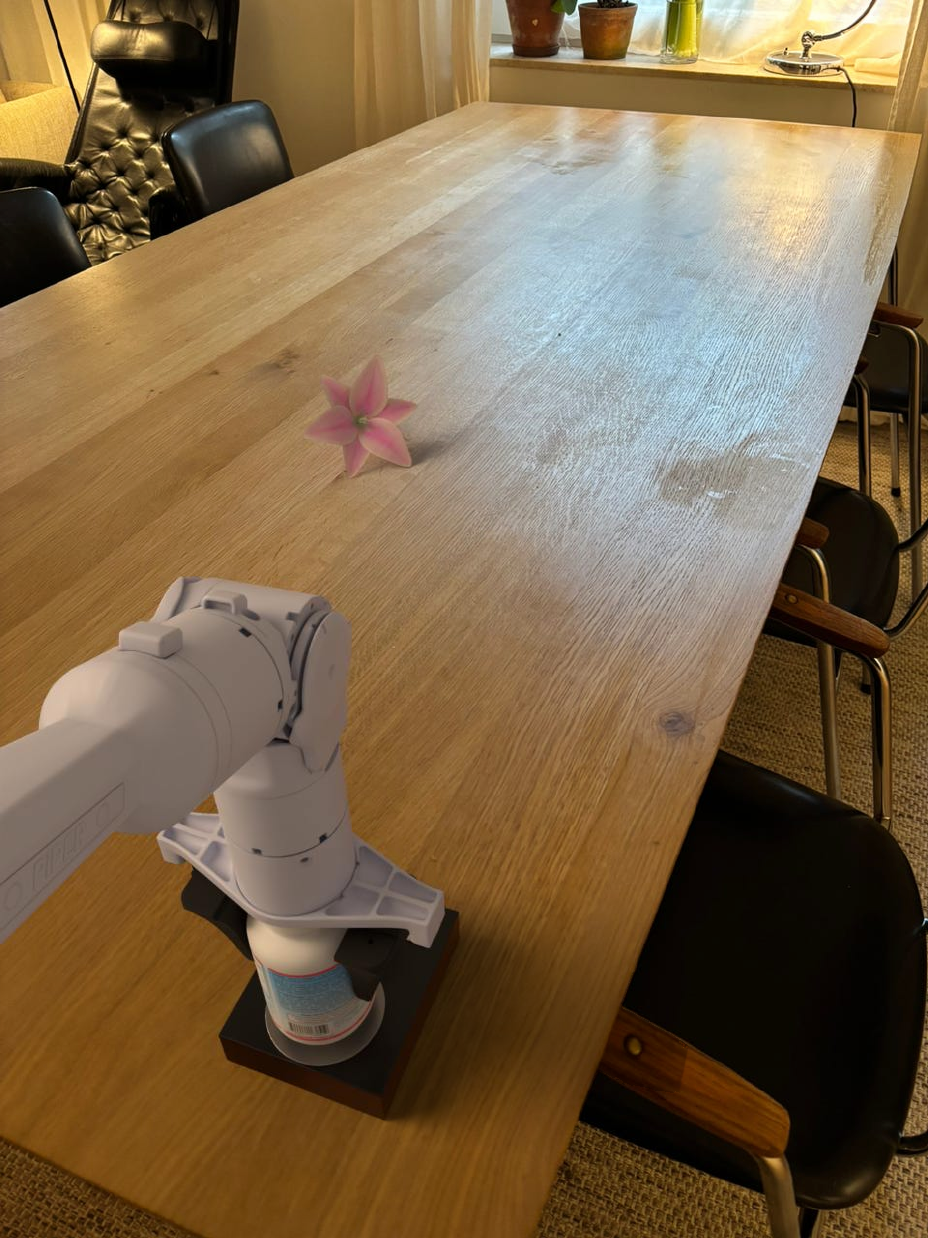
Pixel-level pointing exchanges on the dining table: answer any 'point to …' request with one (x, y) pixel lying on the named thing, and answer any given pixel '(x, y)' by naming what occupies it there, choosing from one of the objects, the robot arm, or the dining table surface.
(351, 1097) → the stove
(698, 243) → the dining table surface
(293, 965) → the pill bottle
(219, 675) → the robot arm
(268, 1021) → the burner
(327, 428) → the lily
